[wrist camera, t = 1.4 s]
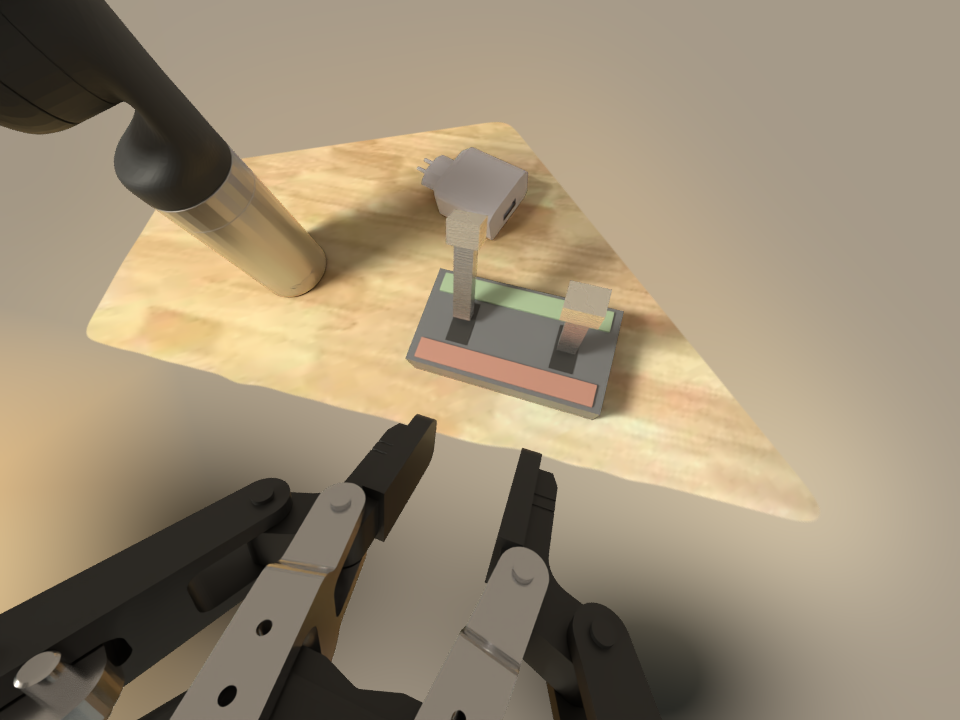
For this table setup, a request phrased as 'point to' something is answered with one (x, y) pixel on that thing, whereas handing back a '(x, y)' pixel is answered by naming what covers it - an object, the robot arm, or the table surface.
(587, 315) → the switch lever
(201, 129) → the robot arm
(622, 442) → the table surface
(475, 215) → the lever on
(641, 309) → the table surface
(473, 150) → the charger
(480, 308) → the switch box
